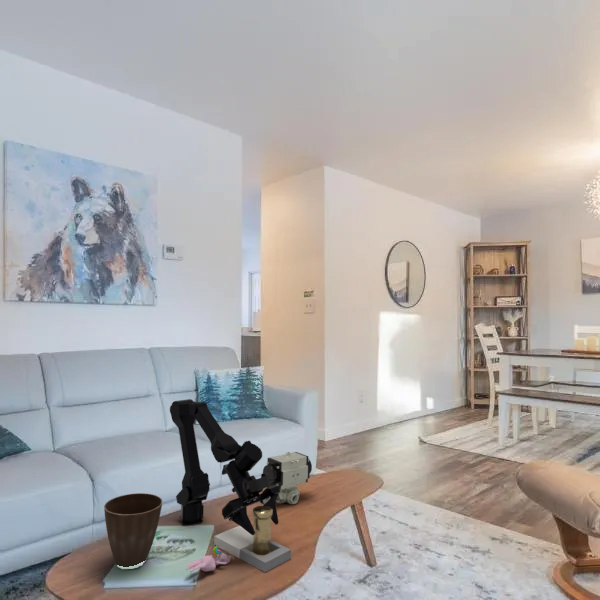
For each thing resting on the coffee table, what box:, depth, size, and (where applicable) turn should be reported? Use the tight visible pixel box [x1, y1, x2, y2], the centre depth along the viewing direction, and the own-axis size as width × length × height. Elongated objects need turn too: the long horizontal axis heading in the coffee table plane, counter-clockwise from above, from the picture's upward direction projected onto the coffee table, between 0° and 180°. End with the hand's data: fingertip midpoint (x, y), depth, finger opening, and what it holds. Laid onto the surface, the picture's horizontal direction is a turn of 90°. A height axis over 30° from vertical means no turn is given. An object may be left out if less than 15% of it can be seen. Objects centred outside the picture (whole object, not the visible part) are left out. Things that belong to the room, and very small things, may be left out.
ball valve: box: [262, 451, 313, 505], centre depth 173 cm, size 18×8×18 cm, turn 131°
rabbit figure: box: [185, 545, 235, 573], centre depth 126 cm, size 6×6×15 cm
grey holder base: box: [213, 525, 292, 573], centre depth 136 cm, size 22×10×2 cm, turn 49°
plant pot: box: [103, 492, 163, 567], centre depth 128 cm, size 15×15×16 cm
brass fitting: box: [251, 505, 273, 557], centre depth 134 cm, size 6×6×13 cm
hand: (265, 529), depth 133 cm, fingers open, 9 cm apart
